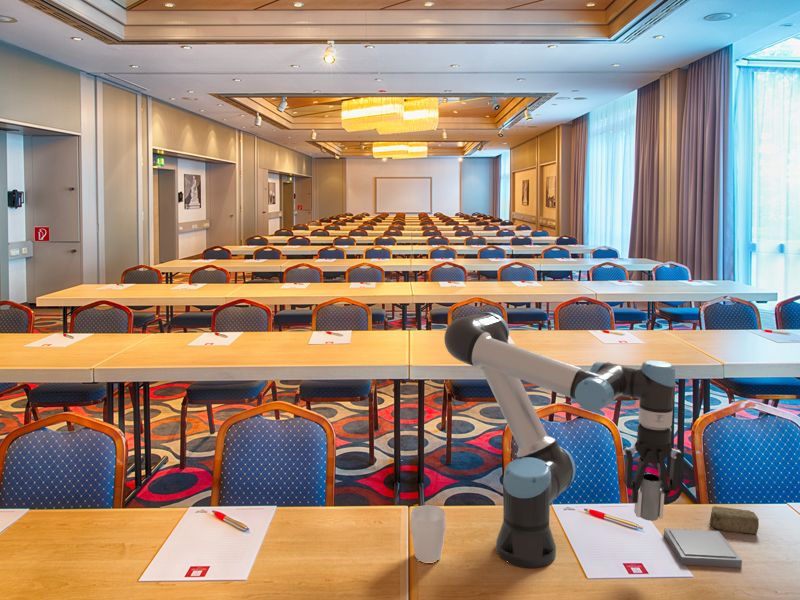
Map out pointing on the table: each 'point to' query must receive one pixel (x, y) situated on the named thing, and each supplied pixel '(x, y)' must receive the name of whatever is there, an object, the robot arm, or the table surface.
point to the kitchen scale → (702, 548)
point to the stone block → (734, 520)
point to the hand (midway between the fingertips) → (648, 514)
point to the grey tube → (650, 496)
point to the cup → (428, 532)
